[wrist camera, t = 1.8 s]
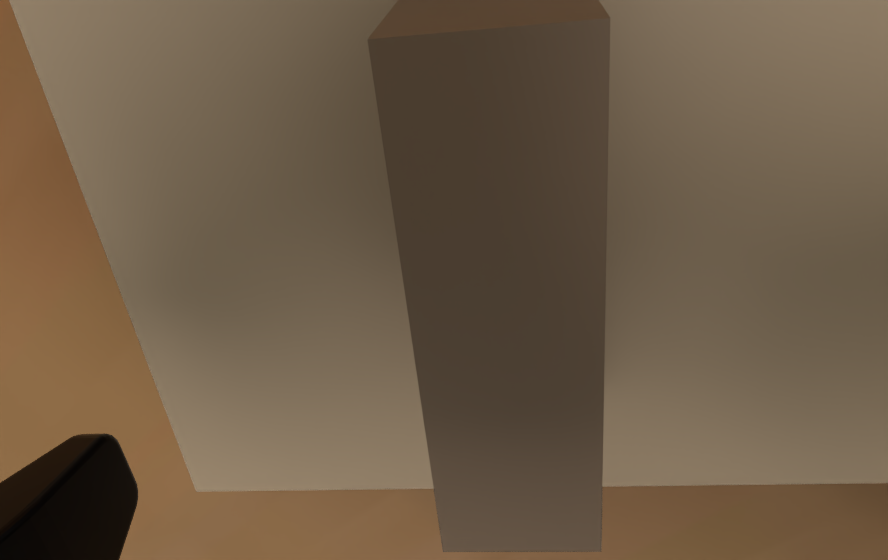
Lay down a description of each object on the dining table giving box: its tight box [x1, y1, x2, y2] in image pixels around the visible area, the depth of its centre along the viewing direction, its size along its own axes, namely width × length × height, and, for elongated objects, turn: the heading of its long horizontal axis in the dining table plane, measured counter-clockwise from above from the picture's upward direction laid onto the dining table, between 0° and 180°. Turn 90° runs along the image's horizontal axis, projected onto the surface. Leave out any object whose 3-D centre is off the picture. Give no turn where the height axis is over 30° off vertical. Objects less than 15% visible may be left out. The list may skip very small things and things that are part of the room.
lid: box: [9, 0, 888, 552], centre depth 12 cm, size 16×14×6 cm
